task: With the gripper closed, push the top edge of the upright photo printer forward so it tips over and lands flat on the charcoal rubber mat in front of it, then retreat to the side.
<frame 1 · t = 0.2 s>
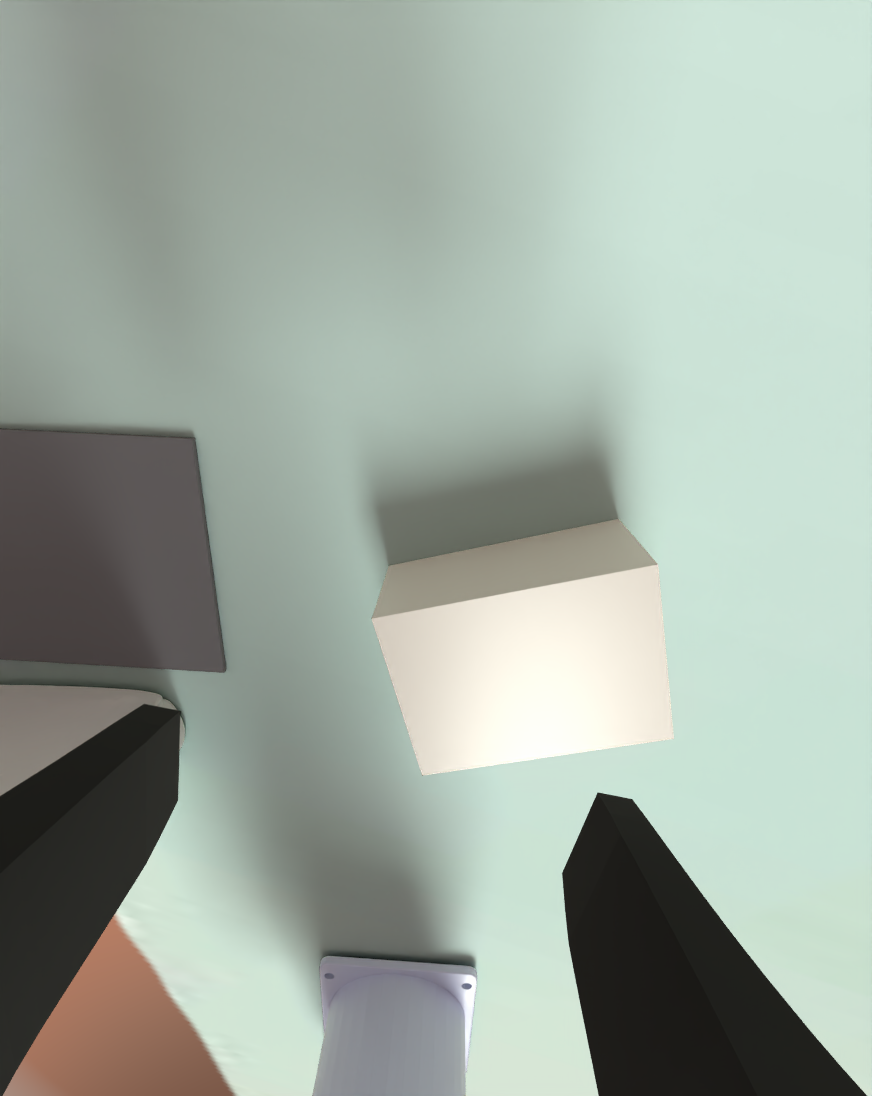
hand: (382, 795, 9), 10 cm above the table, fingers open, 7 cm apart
card box: (515, 614, 19), on the table
mat: (20, 553, 19), on the table
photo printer: (72, 715, 22), on the table
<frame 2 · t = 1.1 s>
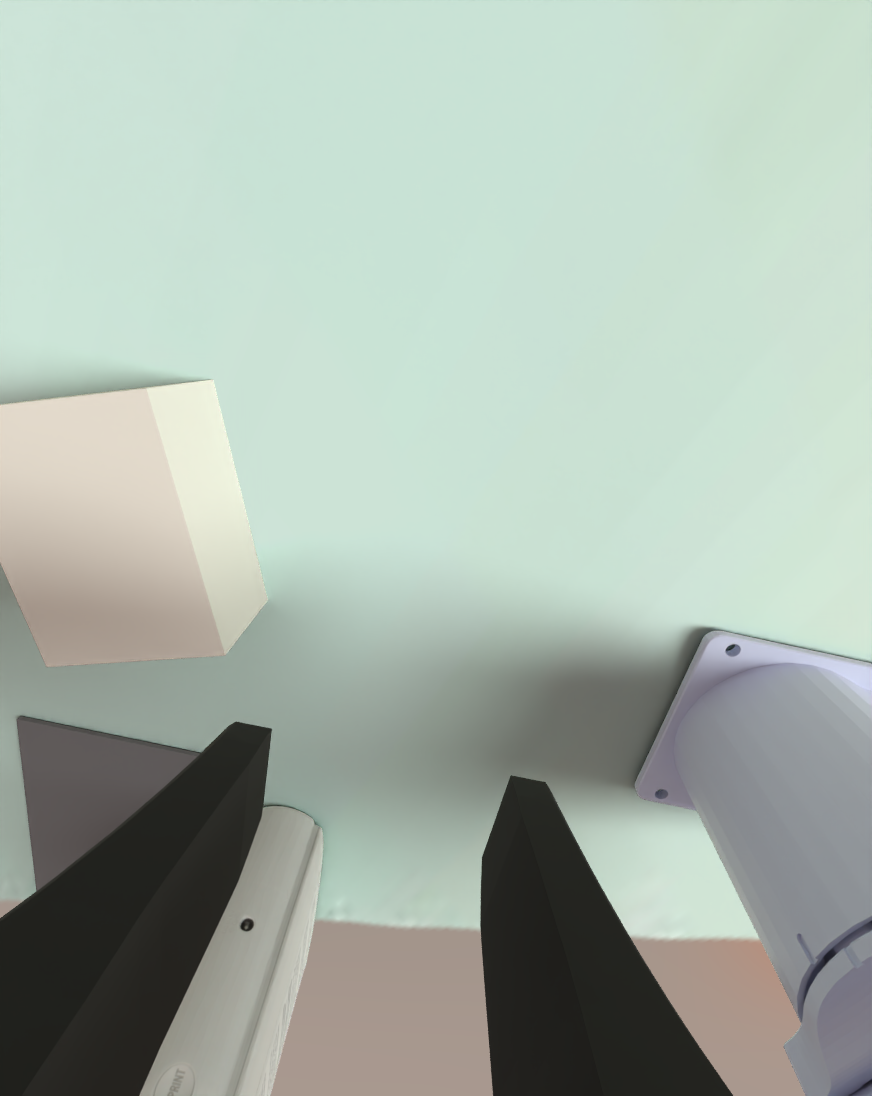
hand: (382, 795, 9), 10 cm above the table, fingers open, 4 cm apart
card box: (165, 504, 19), on the table
mat: (126, 849, 25), on the table
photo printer: (280, 875, 25), on the table
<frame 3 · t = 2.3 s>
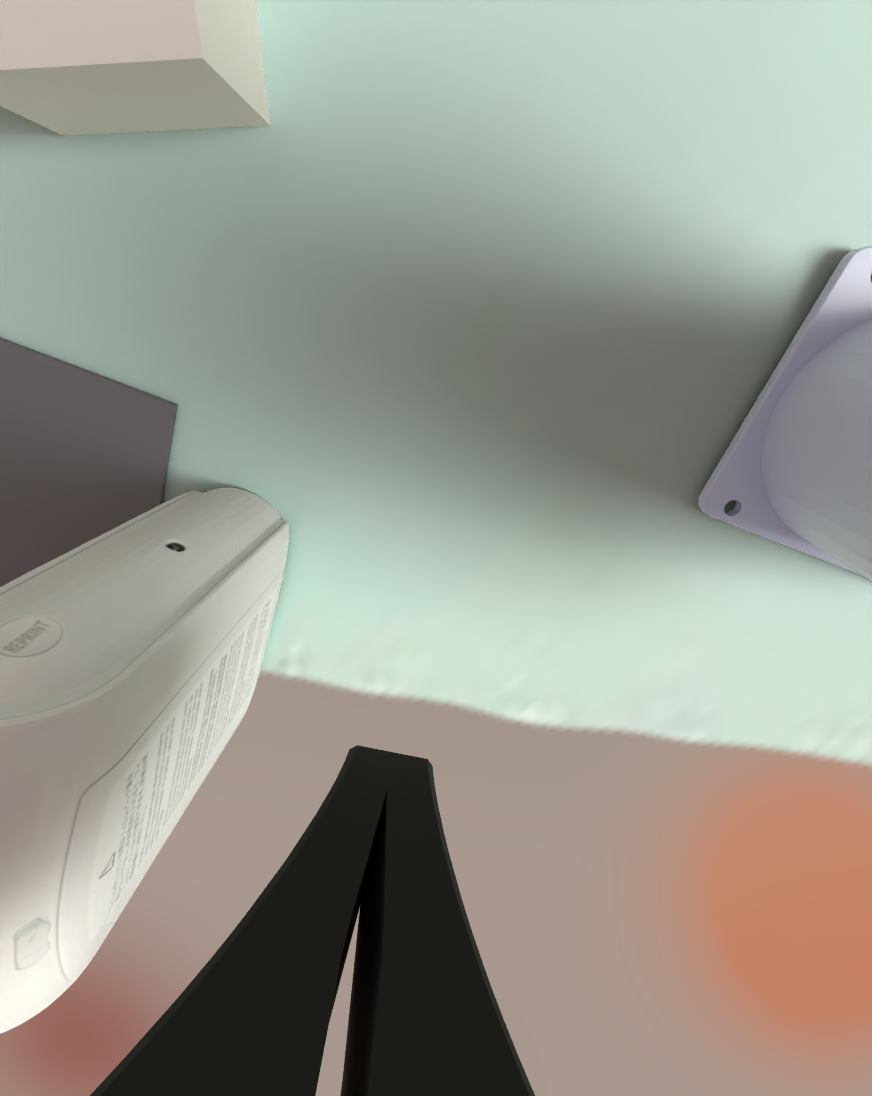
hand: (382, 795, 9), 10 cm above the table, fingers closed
mat: (33, 539, 20), on the table
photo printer: (227, 603, 20), on the table
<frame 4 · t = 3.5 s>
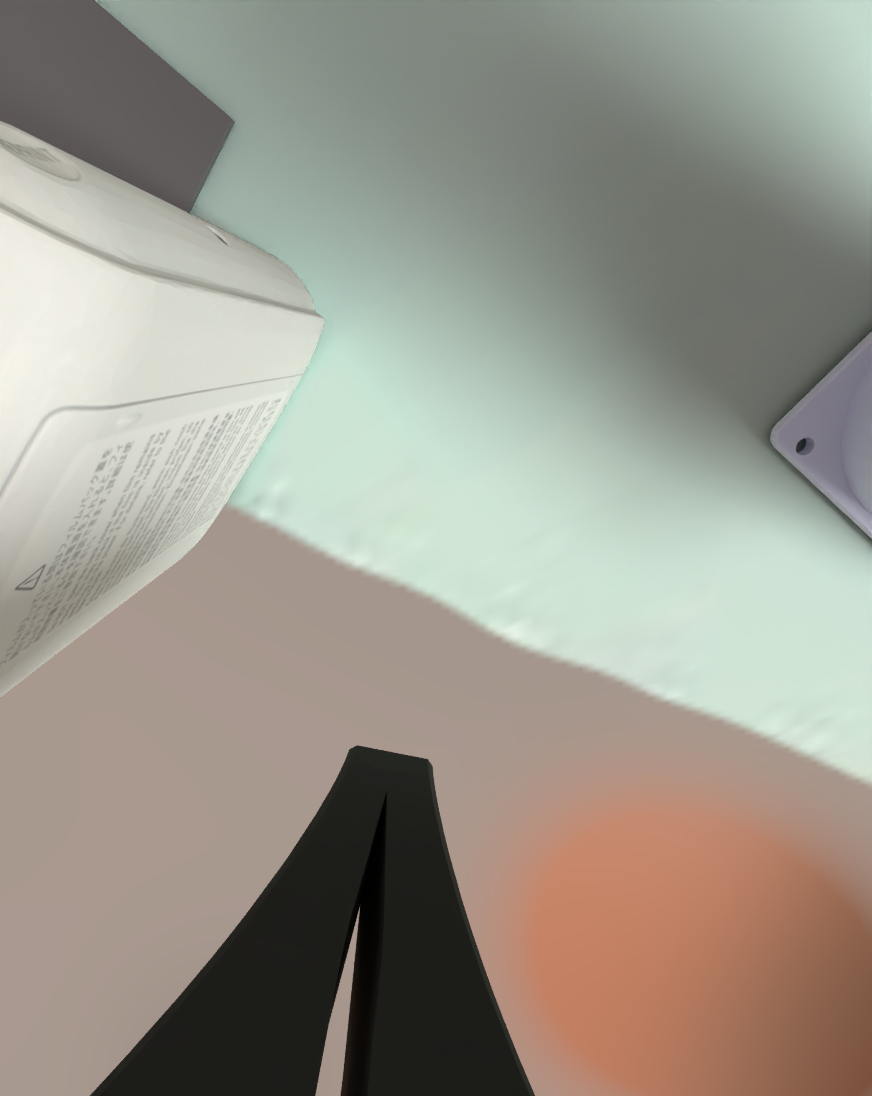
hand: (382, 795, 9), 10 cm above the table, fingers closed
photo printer: (211, 408, 17), on the table
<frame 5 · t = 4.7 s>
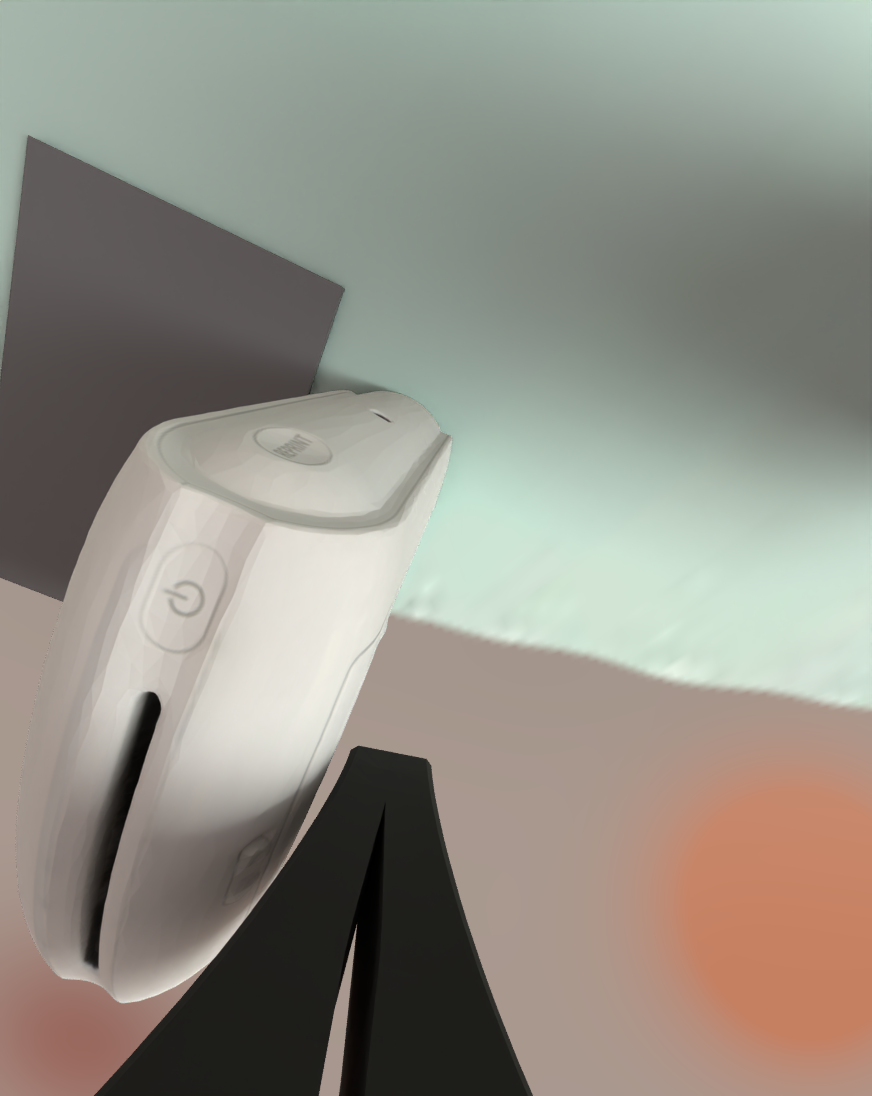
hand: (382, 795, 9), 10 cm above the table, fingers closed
mat: (143, 443, 17), on the table
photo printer: (356, 534, 18), on the table
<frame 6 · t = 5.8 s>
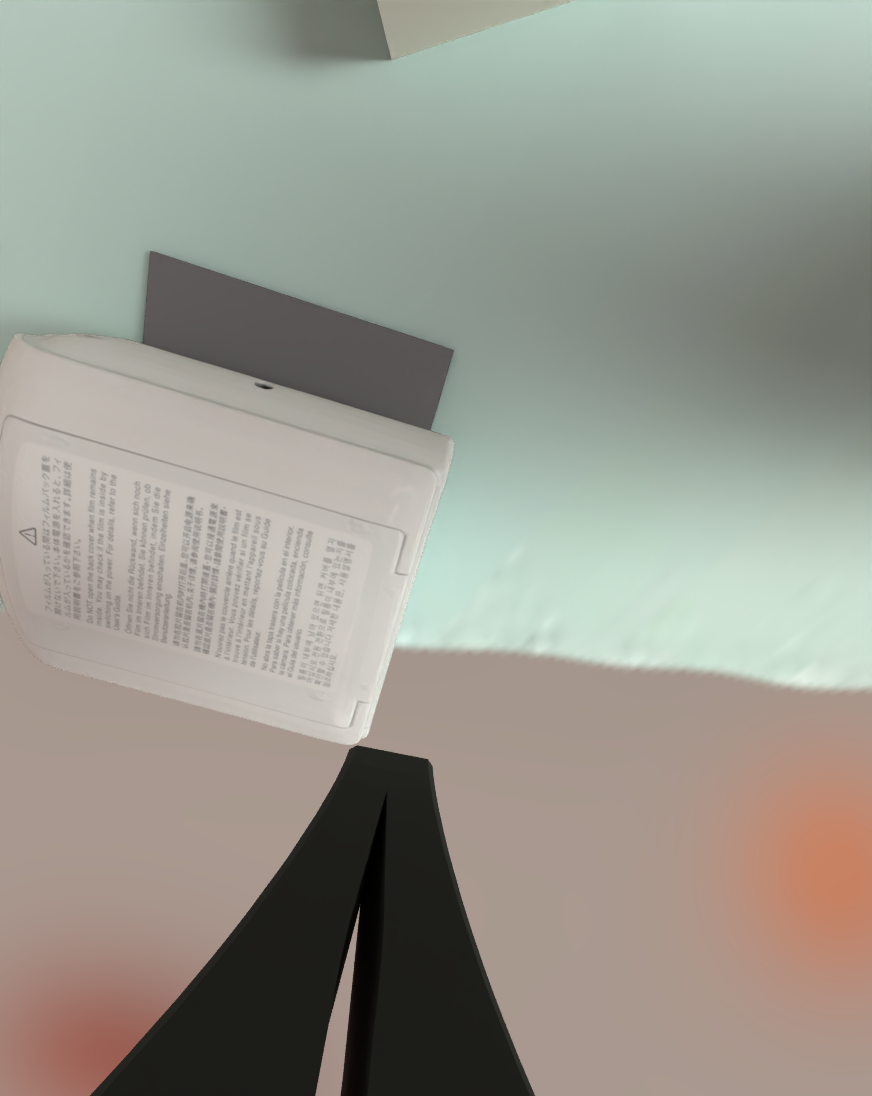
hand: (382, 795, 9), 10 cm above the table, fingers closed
mat: (266, 518, 18), on the table
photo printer: (417, 599, 16), point 2 cm above the table, touching mat
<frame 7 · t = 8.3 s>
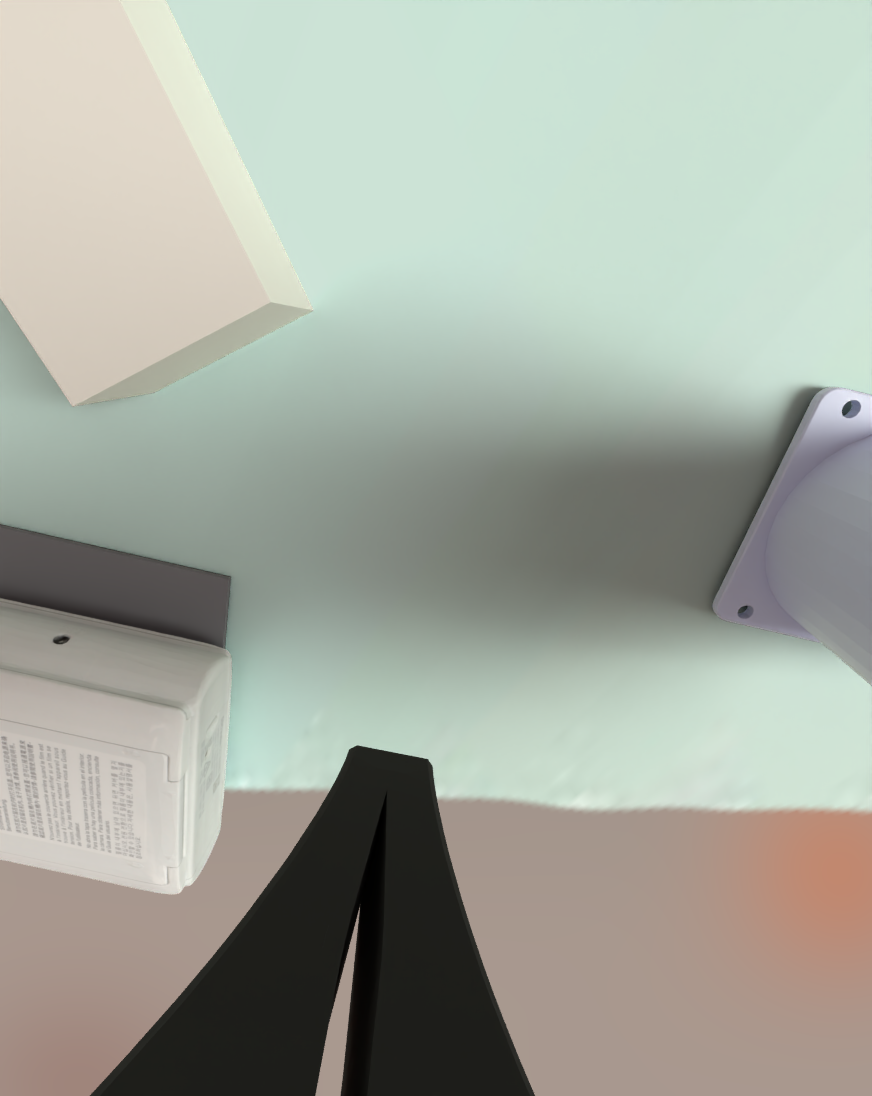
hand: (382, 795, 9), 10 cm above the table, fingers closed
card box: (162, 219, 15), on the table
mat: (112, 700, 22), on the table
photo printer: (219, 775, 20), point 2 cm above the table, touching mat
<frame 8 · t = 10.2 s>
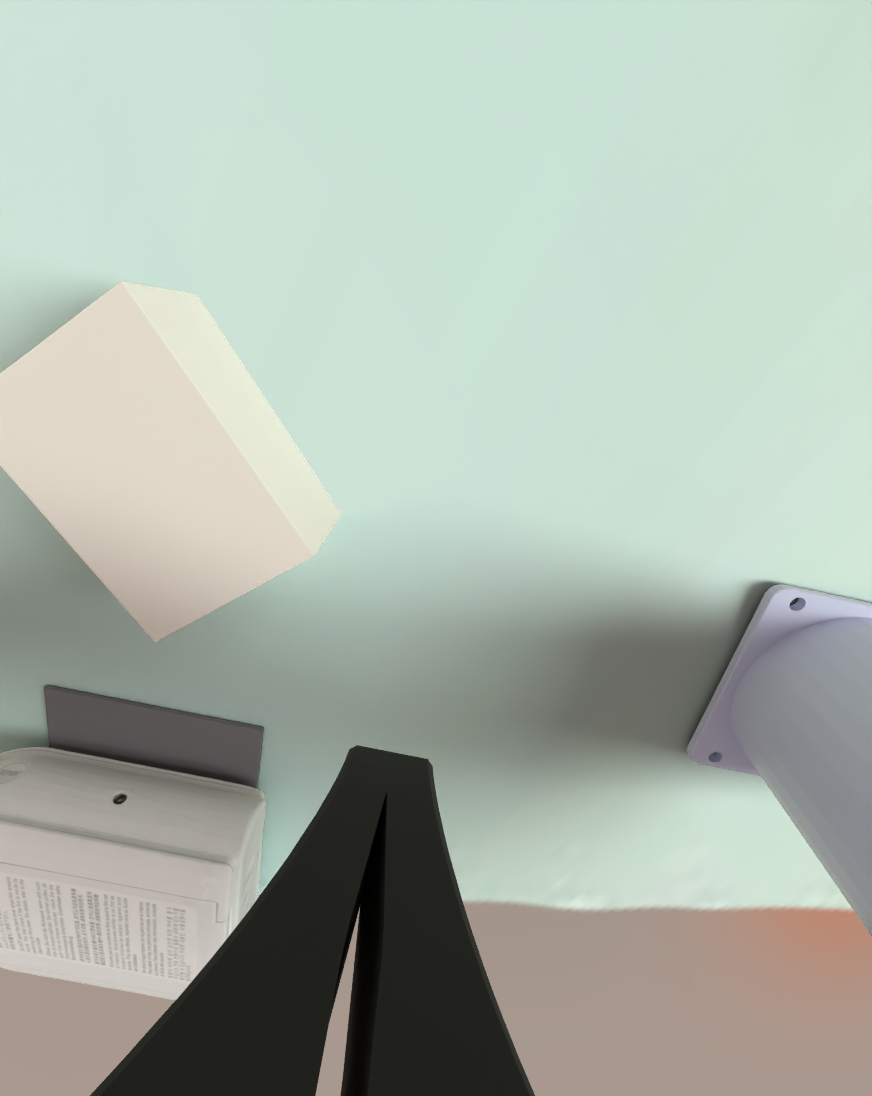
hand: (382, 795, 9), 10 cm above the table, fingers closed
card box: (206, 455, 18), on the table
mat: (155, 825, 24), on the table
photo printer: (256, 900, 22), point 2 cm above the table, touching mat
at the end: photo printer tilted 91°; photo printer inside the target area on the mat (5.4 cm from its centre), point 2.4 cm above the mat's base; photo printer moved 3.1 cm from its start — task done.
